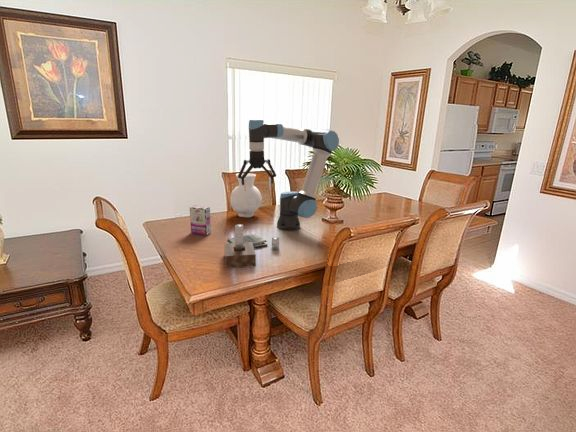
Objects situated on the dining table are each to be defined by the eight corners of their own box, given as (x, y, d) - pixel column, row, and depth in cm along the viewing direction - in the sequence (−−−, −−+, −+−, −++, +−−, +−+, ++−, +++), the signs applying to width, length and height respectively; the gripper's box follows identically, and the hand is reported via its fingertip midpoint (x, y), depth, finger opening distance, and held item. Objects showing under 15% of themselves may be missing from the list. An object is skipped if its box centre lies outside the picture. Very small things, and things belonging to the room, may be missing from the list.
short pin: (278, 247, 182) (278, 237, 180) (279, 250, 178) (279, 239, 177) (271, 247, 181) (271, 237, 180) (272, 250, 178) (272, 239, 176)
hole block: (252, 253, 173) (252, 242, 172) (255, 266, 158) (255, 254, 157) (224, 254, 170) (224, 243, 169) (225, 268, 156) (225, 256, 154)
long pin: (243, 258, 167) (243, 224, 162) (244, 261, 163) (243, 226, 158) (235, 258, 166) (234, 224, 161) (235, 262, 162) (235, 227, 157)
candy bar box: (211, 233, 200) (210, 207, 195) (206, 236, 196) (205, 209, 191) (195, 230, 204) (194, 204, 199) (190, 233, 199) (189, 206, 194)
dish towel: (226, 241, 190) (226, 236, 189) (255, 236, 198) (255, 231, 198) (238, 252, 174) (238, 247, 174) (269, 247, 183) (269, 242, 182)
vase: (265, 217, 235) (266, 175, 227) (238, 221, 224) (237, 177, 215) (253, 210, 250) (253, 171, 241) (226, 214, 238) (225, 173, 230)
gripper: (278, 149, 179) (278, 187, 185) (231, 149, 173) (233, 189, 179) (281, 150, 172) (281, 190, 178) (233, 151, 166) (234, 193, 172)
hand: (257, 190), depth 179 cm, fingers open, 13 cm apart
